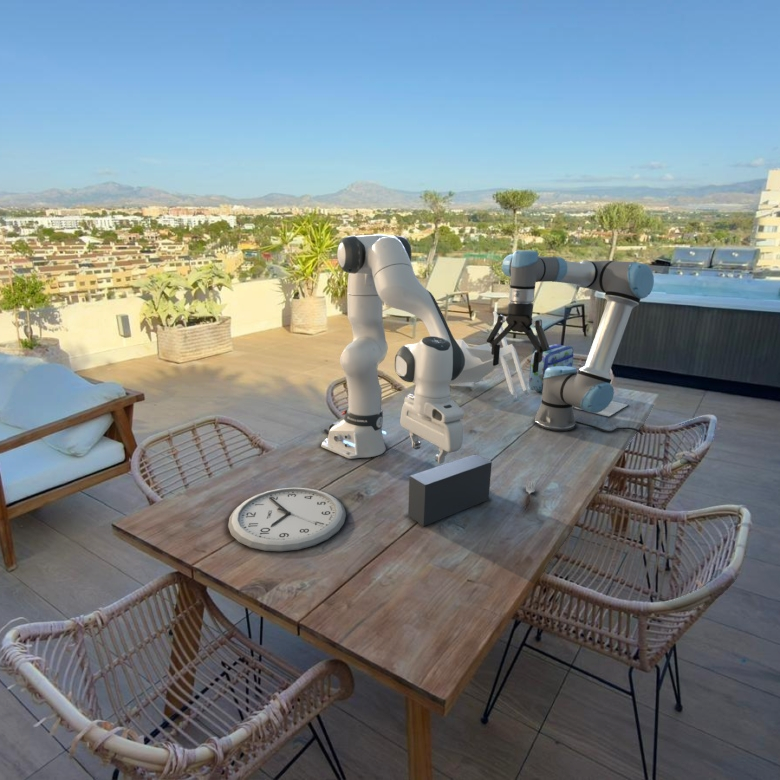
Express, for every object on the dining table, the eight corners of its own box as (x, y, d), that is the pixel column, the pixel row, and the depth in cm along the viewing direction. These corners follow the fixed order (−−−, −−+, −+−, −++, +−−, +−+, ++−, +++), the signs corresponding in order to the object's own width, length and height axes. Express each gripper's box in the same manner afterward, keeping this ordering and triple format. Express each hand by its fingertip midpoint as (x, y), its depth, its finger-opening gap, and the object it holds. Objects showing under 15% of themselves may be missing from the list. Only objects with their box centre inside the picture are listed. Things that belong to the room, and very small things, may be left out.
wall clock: (346, 543, 123) (215, 547, 120) (346, 549, 123) (215, 553, 121) (345, 483, 151) (239, 485, 149) (345, 488, 152) (240, 490, 149)
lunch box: (545, 397, 238) (550, 352, 231) (524, 391, 245) (529, 348, 239) (572, 386, 255) (578, 344, 249) (552, 381, 262) (557, 340, 256)
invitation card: (608, 416, 214) (573, 407, 224) (608, 416, 214) (573, 408, 224) (628, 404, 229) (594, 396, 238) (628, 405, 229) (594, 397, 238)
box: (472, 490, 152) (475, 453, 149) (488, 499, 147) (491, 461, 144) (408, 515, 138) (409, 475, 135) (423, 526, 133) (425, 485, 130)
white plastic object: (461, 429, 252) (437, 405, 227) (444, 352, 274) (420, 323, 250) (535, 404, 240) (518, 377, 215) (510, 326, 262) (492, 293, 237)
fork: (520, 510, 142) (521, 503, 141) (526, 484, 156) (527, 478, 155) (530, 512, 141) (531, 505, 140) (535, 486, 155) (536, 480, 154)
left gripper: (396, 393, 135) (393, 442, 139) (449, 419, 119) (444, 473, 123) (415, 390, 138) (411, 438, 143) (469, 414, 123) (463, 467, 127)
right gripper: (479, 299, 166) (474, 364, 172) (556, 307, 152) (548, 377, 158) (489, 297, 172) (485, 359, 178) (565, 304, 158) (557, 372, 164)
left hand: (427, 454), depth 133 cm, fingers open, 8 cm apart
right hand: (514, 368), depth 168 cm, fingers open, 13 cm apart
